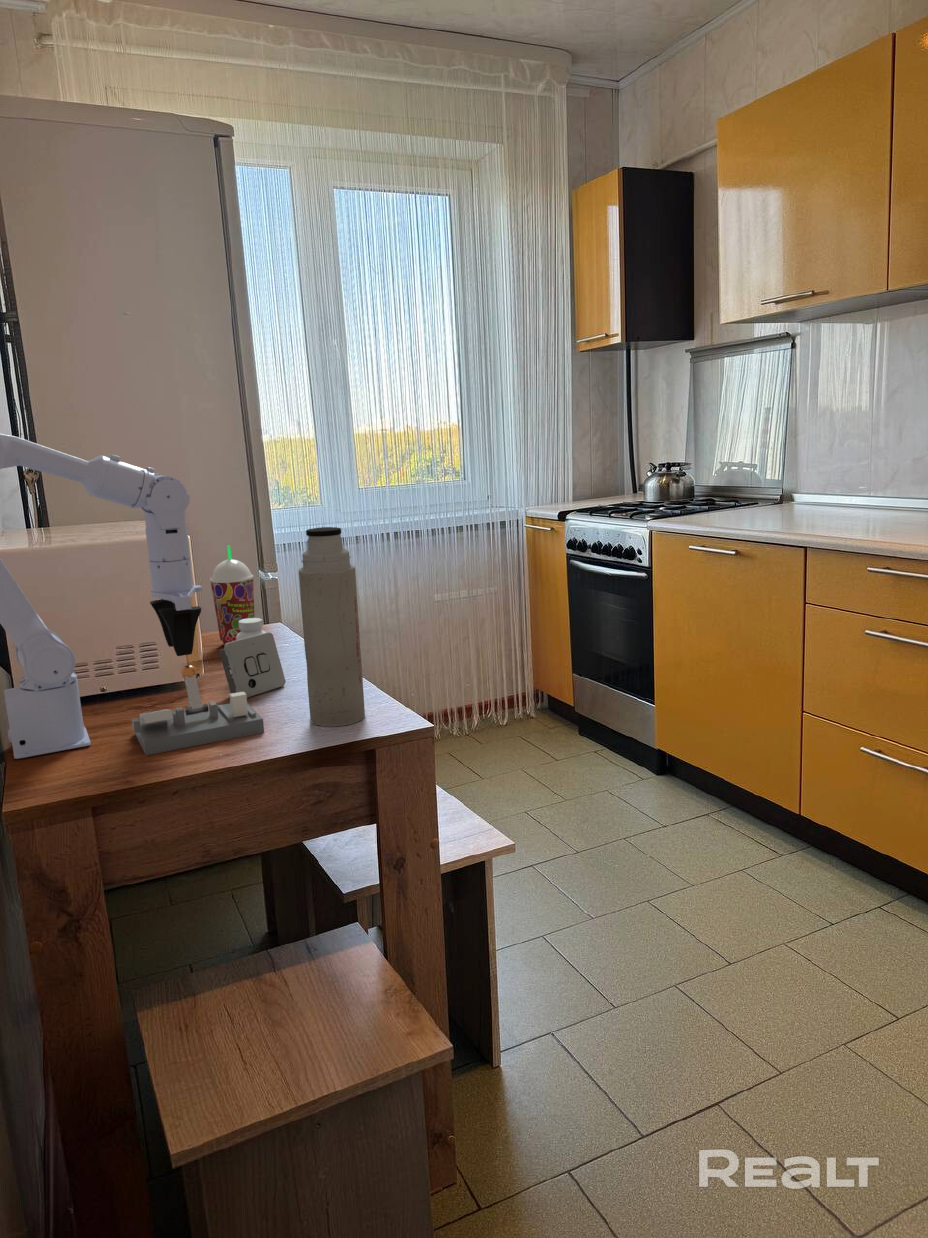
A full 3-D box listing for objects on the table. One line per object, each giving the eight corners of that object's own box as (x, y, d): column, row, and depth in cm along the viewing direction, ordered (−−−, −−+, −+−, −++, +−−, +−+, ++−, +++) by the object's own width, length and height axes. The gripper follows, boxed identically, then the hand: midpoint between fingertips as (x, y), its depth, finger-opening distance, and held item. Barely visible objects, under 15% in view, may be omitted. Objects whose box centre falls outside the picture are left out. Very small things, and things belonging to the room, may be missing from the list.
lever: (187, 713, 121) (177, 664, 123) (185, 717, 123) (176, 669, 125) (209, 709, 123) (199, 661, 125) (207, 713, 125) (197, 666, 126)
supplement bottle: (239, 679, 150) (233, 624, 148) (239, 671, 155) (234, 618, 153) (271, 676, 151) (266, 622, 149) (270, 668, 156) (265, 615, 154)
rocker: (145, 723, 117) (144, 713, 117) (140, 722, 122) (139, 713, 122) (173, 718, 119) (171, 708, 119) (167, 717, 124) (165, 708, 124)
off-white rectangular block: (234, 717, 123) (232, 696, 122) (231, 714, 125) (229, 694, 124) (248, 714, 124) (246, 694, 123) (245, 711, 125) (243, 691, 125)
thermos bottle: (366, 707, 132) (354, 523, 126) (363, 725, 125) (350, 529, 119) (313, 710, 132) (298, 526, 126) (307, 728, 124) (291, 532, 118)
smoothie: (237, 651, 170) (227, 549, 165) (207, 646, 174) (197, 547, 170) (268, 641, 177) (259, 543, 172) (239, 637, 181) (230, 541, 177)
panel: (141, 756, 116) (137, 727, 115) (130, 734, 124) (127, 708, 124) (264, 732, 123) (261, 705, 122) (246, 713, 132) (243, 687, 131)
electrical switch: (241, 701, 138) (232, 644, 137) (221, 699, 142) (213, 643, 140) (287, 686, 145) (279, 632, 144) (267, 684, 149) (259, 631, 147)
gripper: (208, 562, 122) (218, 656, 125) (188, 551, 134) (197, 636, 137) (156, 567, 118) (167, 663, 121) (140, 555, 131) (150, 643, 134)
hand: (179, 650), depth 129 cm, fingers open, 6 cm apart
